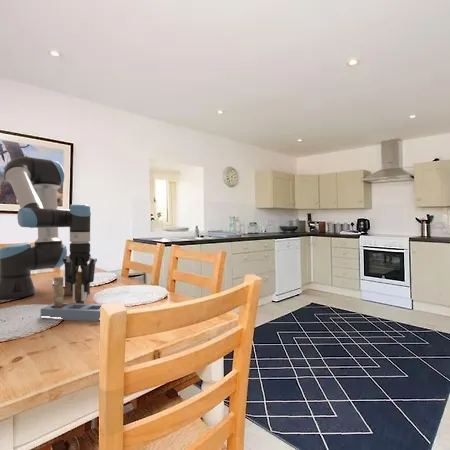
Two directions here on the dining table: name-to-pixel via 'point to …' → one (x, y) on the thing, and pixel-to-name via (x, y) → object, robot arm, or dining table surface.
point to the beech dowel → (58, 292)
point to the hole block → (73, 311)
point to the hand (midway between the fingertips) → (79, 299)
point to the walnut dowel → (79, 286)
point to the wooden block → (68, 285)
